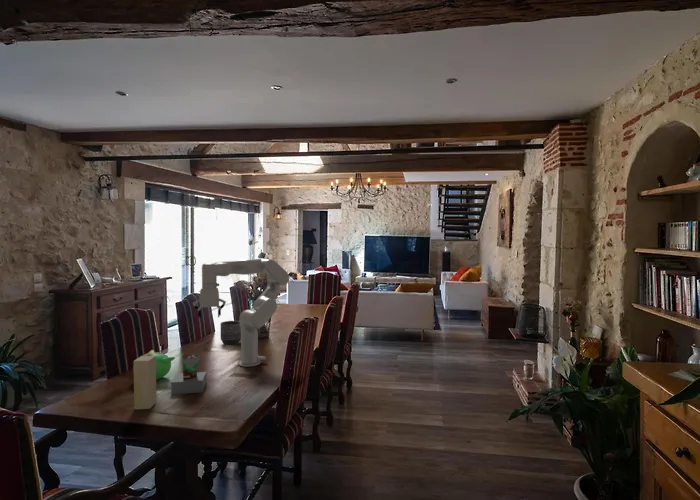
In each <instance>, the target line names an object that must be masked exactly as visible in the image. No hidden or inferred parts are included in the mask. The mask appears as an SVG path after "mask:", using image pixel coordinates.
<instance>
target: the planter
mask: <svg viewBox="0 0 700 500" xmlns="http://www.w3.org/2000/svg"><path fill="white" fill-rule="evenodd" d="M220 341H221V342H222V343H223V345H224V346H227V345H232V346H236V344H237V345H238V344H240V343H241V327H240V321H239V320H227V321H222V322H220Z"/></svg>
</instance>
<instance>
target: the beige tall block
mask: <svg viewBox="0 0 700 500" xmlns="http://www.w3.org/2000/svg"><path fill="white" fill-rule="evenodd" d="M133 366H134V371H133V397H134V398H133V404H134V405H133V408H134V410H151V409H152V408H153V407H154V405H156V403H157V380H156V356H142V355H141V356H139V357H137V358H136V359H135V360H133Z"/></svg>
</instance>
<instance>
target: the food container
mask: <svg viewBox="0 0 700 500" xmlns="http://www.w3.org/2000/svg"><path fill="white" fill-rule="evenodd" d="M200 359H201V358H200V355H199V354H198V353H193V352H190V353H189V355H188V356H186V357H185V358H183V359H182V373H183V379H192V378H195V377H196V376H197V372H198V368H199V361H200Z"/></svg>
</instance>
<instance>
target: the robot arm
mask: <svg viewBox="0 0 700 500" xmlns="http://www.w3.org/2000/svg"><path fill="white" fill-rule="evenodd" d="M254 274H255V275H256V274H267V276H266V280H267V285H266V288H265V289H264V291H263V292H262V293H261V294H260V295H259V296H258V297H257V299H255V301H254V302H253V309H245V310H243V311H242V312H241V313H240V314H239V320H238V321H240V327H241V340H240V360H239V361H238V363H237V364H238V366H240V367H244V368H245V367H246V368H248V367H250V368H251V367H256V366H259V365H261V361H266V359H267V356H263V355H259V351H258V349H259V348H258V347H259V346H258V344H259V337H258V336H259V335H258V334H259V331H258V329H261V328H262V327H263V326H264V325H265V324H266V323H267V322H268V321H269V320H270V319H271V318H272V316H273V315H274V314H275V313H276V311H277V308H278V304H277V301H276V300H277V298H278V297H279V295H280V289H281V288H280V287H281V286H286V285H287V284H289V282H290V275H289V273H288V272H287V271H286V269H284V268H283V267H282V266H281V265H280V264H279V263H278V262H277V261H275V260H274V259H272V258H254V259H253V258H252V259H240V260H227V261H217V262H214V263H213V262H211V263H209V262H207V263H203V264H202V265H201V288H200V291H199V299H197V300H195V301H193V302H192V306H193V307H194V308H195V309H196V311H197V314H198V315H197V316H198V317H199V319H201V318H202V308H215V307H216V308H217V318H220V316H221V315H222V313H221V312H222V309H223V308H224V307H225V305H226V303H227V301H226V300H224V299H221V298H220V294H219V293H220V291H219V288H218V287H220V283H217V278H218V277H227V276H230V275H241V276H243V275H254ZM220 302H221V303H222V304H221V305H220ZM198 303H199V306H198V305H197V304H198Z"/></svg>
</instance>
